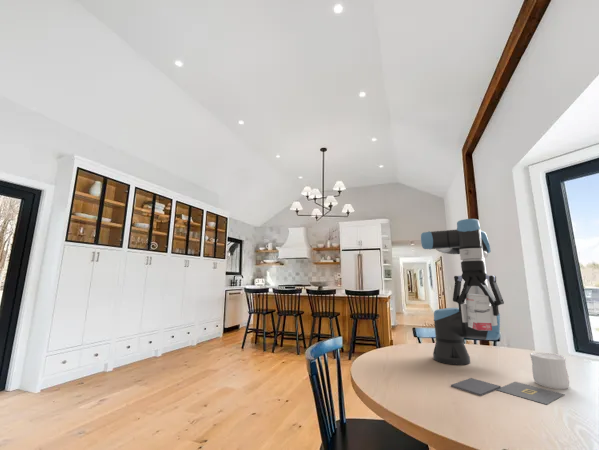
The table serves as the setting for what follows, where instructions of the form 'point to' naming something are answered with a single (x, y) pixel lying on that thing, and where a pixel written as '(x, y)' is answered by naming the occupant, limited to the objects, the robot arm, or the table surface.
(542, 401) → the slate mat
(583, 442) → the table surface
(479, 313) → the ink box
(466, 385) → the felt pad
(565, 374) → the cup
